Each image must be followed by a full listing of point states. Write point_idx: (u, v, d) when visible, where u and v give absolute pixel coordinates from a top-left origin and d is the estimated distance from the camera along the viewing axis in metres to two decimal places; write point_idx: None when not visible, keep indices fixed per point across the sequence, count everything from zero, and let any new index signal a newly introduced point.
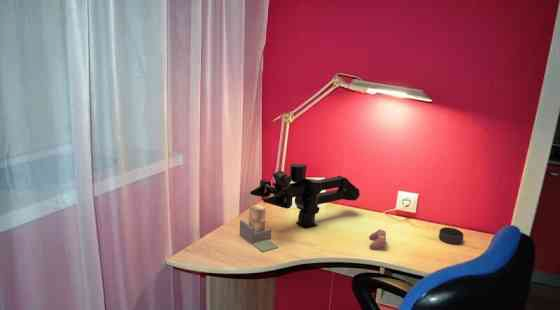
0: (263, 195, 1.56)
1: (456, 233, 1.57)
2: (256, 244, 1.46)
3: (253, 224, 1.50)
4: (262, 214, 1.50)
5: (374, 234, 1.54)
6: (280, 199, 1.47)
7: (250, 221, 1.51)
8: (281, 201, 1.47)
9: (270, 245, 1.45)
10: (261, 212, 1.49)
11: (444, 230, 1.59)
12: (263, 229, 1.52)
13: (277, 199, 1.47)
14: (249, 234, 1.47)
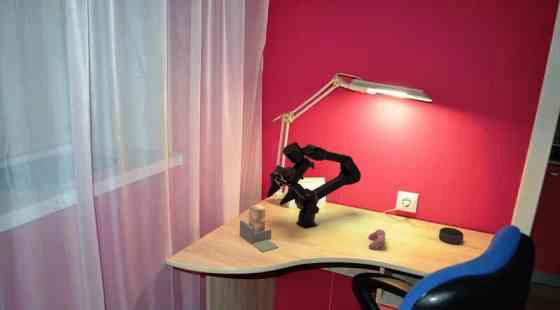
0: (279, 187, 1.61)
1: (456, 233, 1.57)
2: (256, 244, 1.46)
3: (253, 224, 1.50)
4: (262, 214, 1.50)
5: (373, 234, 1.54)
6: (293, 193, 1.51)
7: (250, 221, 1.51)
8: (295, 194, 1.50)
9: (270, 245, 1.45)
10: (261, 212, 1.49)
11: (444, 230, 1.59)
12: (263, 229, 1.52)
13: (291, 194, 1.51)
14: (249, 234, 1.47)
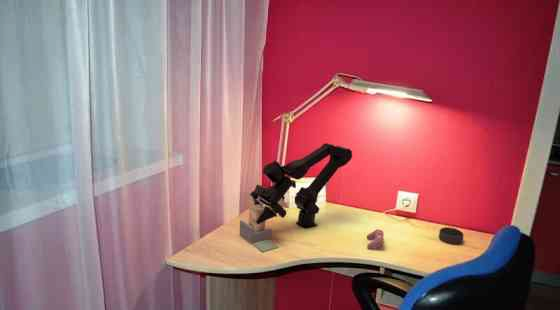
0: None
1: (456, 233, 1.57)
2: (256, 244, 1.46)
3: (253, 224, 1.50)
4: None
5: (372, 234, 1.55)
6: (270, 211, 1.49)
7: (250, 221, 1.51)
8: (272, 213, 1.49)
9: (270, 245, 1.45)
10: (261, 212, 1.49)
11: (444, 230, 1.59)
12: (263, 229, 1.52)
13: (268, 213, 1.49)
14: (249, 234, 1.47)
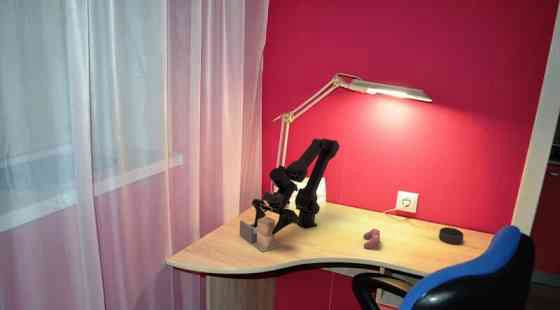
0: (264, 214, 1.50)
1: (456, 233, 1.57)
2: (256, 244, 1.46)
3: (264, 238, 1.42)
4: (272, 226, 1.43)
5: (368, 233, 1.55)
6: (284, 220, 1.42)
7: (259, 235, 1.43)
8: (287, 221, 1.42)
9: None
10: (272, 224, 1.43)
11: (444, 230, 1.59)
12: (273, 242, 1.45)
13: (282, 222, 1.42)
14: (249, 234, 1.47)
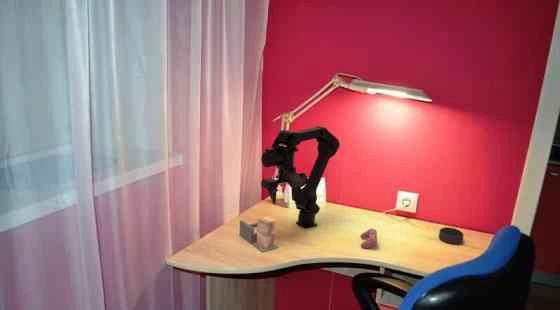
0: None
1: (456, 233, 1.57)
2: (256, 244, 1.46)
3: (264, 238, 1.42)
4: (272, 226, 1.43)
5: (365, 233, 1.55)
6: None
7: (259, 235, 1.43)
8: None
9: None
10: (272, 224, 1.43)
11: (444, 230, 1.59)
12: (273, 242, 1.45)
13: None
14: (249, 234, 1.47)
